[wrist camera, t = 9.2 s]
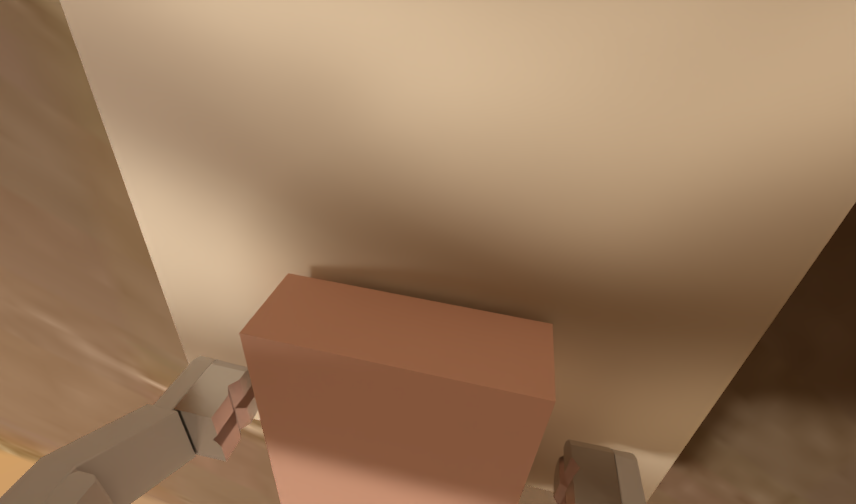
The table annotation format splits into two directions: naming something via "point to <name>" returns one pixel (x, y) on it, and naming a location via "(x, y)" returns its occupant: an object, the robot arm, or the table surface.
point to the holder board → (494, 174)
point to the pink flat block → (396, 396)
